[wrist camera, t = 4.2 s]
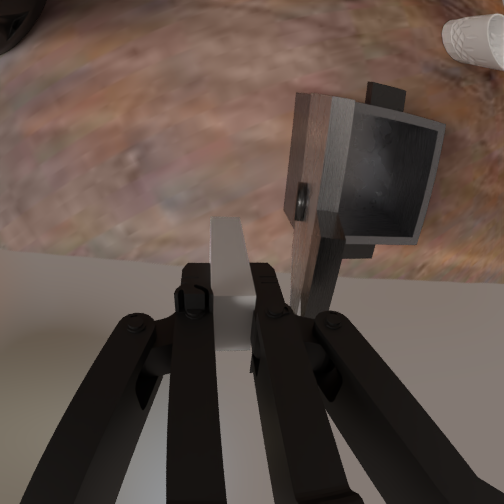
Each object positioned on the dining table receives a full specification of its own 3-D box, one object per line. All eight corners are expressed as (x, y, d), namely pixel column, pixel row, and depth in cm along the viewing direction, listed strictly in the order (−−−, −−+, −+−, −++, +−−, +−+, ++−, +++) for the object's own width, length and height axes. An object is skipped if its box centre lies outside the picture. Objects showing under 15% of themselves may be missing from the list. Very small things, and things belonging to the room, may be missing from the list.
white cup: (446, 68, 32) (496, 75, 23) (431, 17, 28) (480, 12, 19) (479, 63, 31) (527, 70, 23) (466, 16, 27) (514, 15, 19)
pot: (297, 73, 32) (323, 71, 24) (406, 95, 34) (449, 104, 26) (281, 226, 42) (298, 263, 34) (380, 229, 44) (410, 261, 36)
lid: (321, 94, 26) (304, 91, 26) (370, 103, 9) (324, 94, 9) (301, 243, 33) (286, 242, 33) (301, 397, 17) (274, 394, 17)
